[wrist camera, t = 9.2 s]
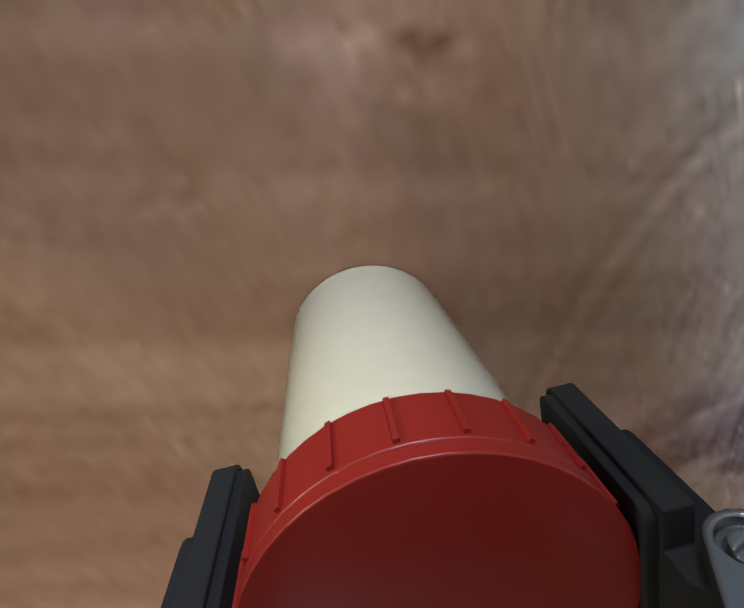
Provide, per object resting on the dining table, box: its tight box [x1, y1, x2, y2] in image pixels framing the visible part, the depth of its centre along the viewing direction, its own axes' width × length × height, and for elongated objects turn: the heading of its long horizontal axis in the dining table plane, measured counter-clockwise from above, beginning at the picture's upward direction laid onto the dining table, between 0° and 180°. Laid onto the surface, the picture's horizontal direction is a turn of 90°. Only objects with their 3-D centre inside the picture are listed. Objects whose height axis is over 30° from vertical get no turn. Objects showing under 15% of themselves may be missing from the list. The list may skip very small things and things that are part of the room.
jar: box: [276, 266, 514, 470], centre depth 14 cm, size 6×6×11 cm
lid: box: [232, 389, 641, 608], centre depth 9 cm, size 7×7×2 cm
